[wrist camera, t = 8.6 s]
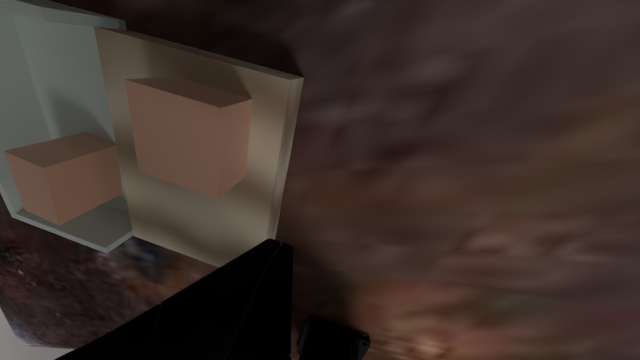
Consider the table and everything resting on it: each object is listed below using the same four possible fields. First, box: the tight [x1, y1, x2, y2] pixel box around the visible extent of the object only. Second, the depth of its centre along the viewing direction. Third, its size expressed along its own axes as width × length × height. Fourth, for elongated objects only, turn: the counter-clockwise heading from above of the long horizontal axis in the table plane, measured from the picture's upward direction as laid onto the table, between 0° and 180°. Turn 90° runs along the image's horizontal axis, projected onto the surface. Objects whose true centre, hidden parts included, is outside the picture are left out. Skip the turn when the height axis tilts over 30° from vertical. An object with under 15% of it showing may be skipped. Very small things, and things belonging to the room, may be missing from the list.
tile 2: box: [4, 132, 123, 225], centre depth 19 cm, size 5×5×3 cm
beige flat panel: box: [94, 26, 304, 267], centre depth 18 cm, size 16×12×2 cm
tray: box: [0, 0, 133, 253], centre depth 18 cm, size 17×10×4 cm, turn 167°
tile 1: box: [125, 76, 252, 199], centre depth 14 cm, size 5×5×3 cm
